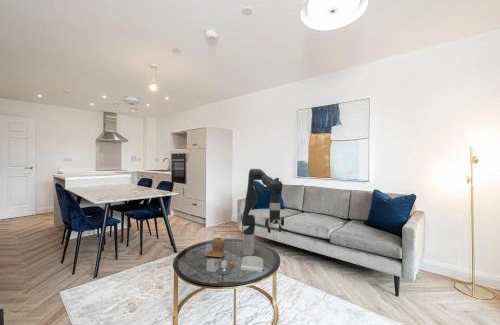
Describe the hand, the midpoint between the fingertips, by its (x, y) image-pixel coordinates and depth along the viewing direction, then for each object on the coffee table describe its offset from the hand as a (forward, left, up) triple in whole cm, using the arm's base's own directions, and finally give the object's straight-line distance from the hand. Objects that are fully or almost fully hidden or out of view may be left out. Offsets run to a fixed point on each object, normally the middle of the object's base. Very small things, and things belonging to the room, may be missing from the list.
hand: (274, 232), depth 167 cm
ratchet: (-20, -27, -28) cm, 44 cm away
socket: (-23, -37, -28) cm, 52 cm away
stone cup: (-50, -25, -29) cm, 63 cm away
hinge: (-13, -10, -29) cm, 33 cm away
